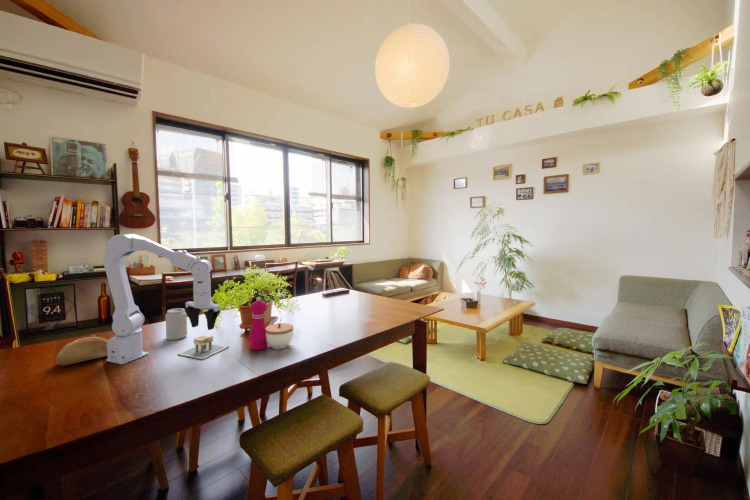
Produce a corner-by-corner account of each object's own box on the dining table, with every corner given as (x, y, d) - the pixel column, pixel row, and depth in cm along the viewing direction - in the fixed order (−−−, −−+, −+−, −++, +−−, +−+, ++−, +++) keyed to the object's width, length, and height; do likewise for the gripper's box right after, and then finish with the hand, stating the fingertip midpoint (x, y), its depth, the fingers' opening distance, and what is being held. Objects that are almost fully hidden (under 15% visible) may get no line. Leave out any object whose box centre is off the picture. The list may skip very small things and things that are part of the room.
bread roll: (116, 358, 112) (115, 336, 112) (56, 371, 101) (55, 347, 101) (112, 350, 119) (111, 329, 118) (56, 362, 108) (54, 339, 107)
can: (191, 335, 136) (190, 307, 135) (178, 341, 129) (177, 312, 128) (175, 334, 137) (174, 306, 136) (161, 340, 130) (160, 311, 129)
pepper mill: (262, 351, 120) (262, 299, 119) (245, 349, 121) (244, 298, 120) (271, 344, 127) (271, 295, 126) (255, 342, 128) (254, 294, 127)
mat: (202, 360, 112) (202, 358, 112) (177, 355, 116) (177, 353, 116) (228, 347, 123) (228, 346, 123) (204, 343, 127) (204, 342, 127)
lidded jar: (259, 348, 123) (258, 325, 122) (278, 339, 133) (278, 317, 132) (280, 353, 118) (280, 329, 118) (298, 344, 128) (298, 321, 127)
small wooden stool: (205, 347, 122) (204, 334, 122) (213, 348, 121) (212, 335, 121) (194, 352, 118) (193, 338, 117) (202, 353, 116) (202, 340, 116)
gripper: (226, 291, 119) (226, 326, 120) (196, 288, 124) (197, 322, 125) (210, 295, 112) (211, 332, 113) (180, 292, 117) (181, 327, 118)
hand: (203, 327), depth 119 cm, fingers open, 7 cm apart
